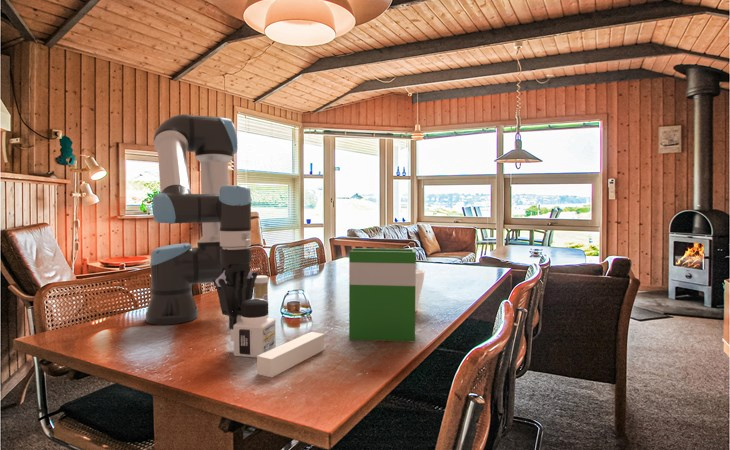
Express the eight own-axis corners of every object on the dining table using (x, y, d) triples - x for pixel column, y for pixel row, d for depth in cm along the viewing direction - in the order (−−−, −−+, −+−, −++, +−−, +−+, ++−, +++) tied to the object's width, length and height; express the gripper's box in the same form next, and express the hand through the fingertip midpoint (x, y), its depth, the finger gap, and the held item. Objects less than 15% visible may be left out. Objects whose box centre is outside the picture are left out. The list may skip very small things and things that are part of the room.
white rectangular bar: (257, 374, 96) (257, 355, 96) (311, 347, 114) (311, 331, 114) (271, 377, 95) (271, 359, 94) (324, 349, 112) (324, 334, 112)
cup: (423, 307, 157) (423, 269, 156) (424, 314, 146) (424, 274, 145) (393, 306, 158) (393, 268, 157) (392, 313, 147) (392, 273, 146)
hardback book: (349, 339, 120) (349, 251, 119) (352, 331, 128) (352, 248, 126) (414, 341, 119) (415, 252, 117) (414, 333, 126) (415, 249, 125)
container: (263, 358, 106) (262, 304, 105) (233, 356, 107) (232, 302, 106) (276, 348, 113) (275, 297, 112) (248, 345, 115) (247, 296, 114)
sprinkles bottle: (263, 320, 139) (263, 277, 138) (250, 319, 140) (250, 277, 139) (271, 317, 143) (270, 275, 142) (258, 315, 144) (258, 274, 144)
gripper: (227, 251, 104) (228, 350, 105) (265, 246, 115) (265, 336, 116) (204, 249, 107) (205, 345, 108) (243, 244, 119) (244, 332, 120)
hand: (237, 340), depth 112 cm, fingers closed
